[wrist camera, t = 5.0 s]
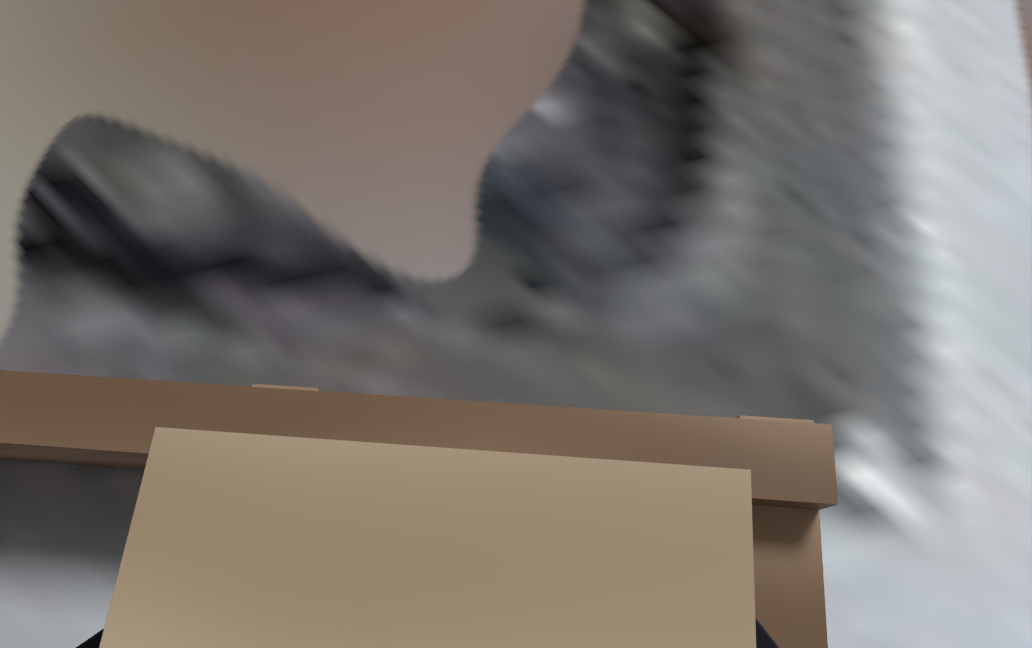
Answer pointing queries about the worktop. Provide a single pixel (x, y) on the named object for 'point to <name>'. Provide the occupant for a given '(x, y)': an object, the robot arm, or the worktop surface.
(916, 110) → the worktop surface
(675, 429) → the lane rack
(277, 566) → the beech block
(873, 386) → the worktop surface
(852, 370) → the worktop surface
